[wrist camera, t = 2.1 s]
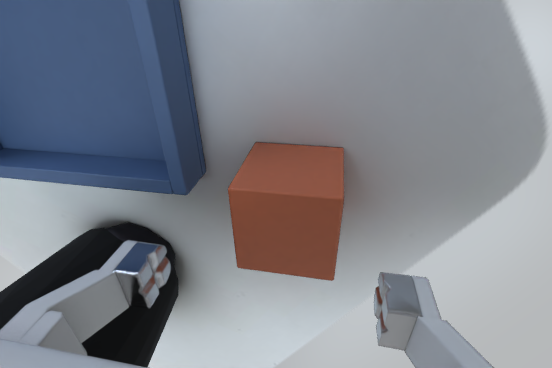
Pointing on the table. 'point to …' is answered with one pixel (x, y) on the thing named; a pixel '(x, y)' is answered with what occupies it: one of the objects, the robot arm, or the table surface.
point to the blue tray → (98, 95)
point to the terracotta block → (288, 209)
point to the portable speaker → (82, 260)
